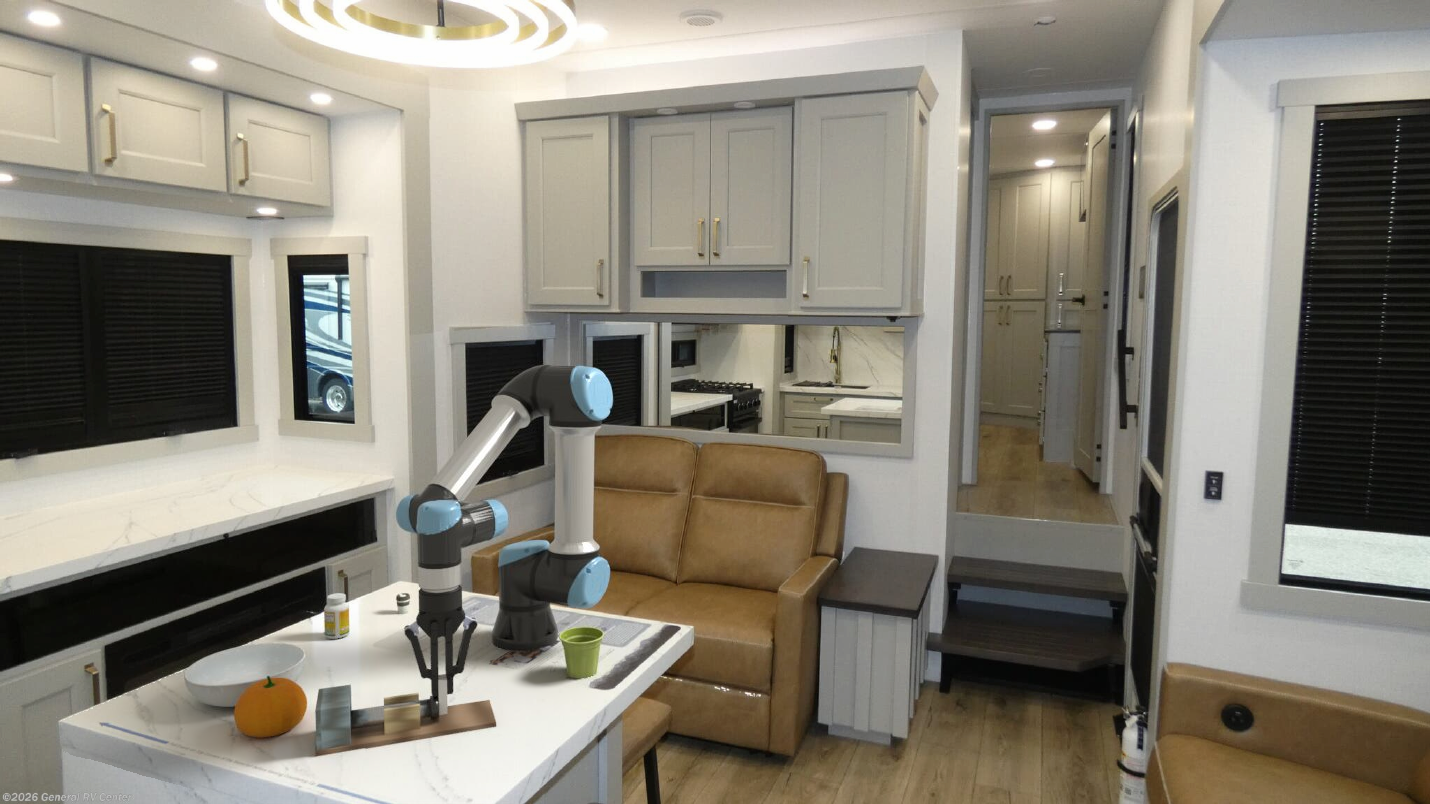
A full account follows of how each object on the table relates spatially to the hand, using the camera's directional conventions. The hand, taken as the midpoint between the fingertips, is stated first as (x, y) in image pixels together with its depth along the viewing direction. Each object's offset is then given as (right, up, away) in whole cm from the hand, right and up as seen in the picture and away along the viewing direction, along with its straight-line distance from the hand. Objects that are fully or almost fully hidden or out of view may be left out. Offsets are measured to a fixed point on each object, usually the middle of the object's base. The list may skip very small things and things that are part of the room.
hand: (442, 711), depth 155 cm
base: (-6, -3, -2) cm, 6 cm away
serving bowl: (-42, -1, +11) cm, 44 cm away
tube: (-9, -1, -4) cm, 10 cm away
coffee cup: (-30, +3, +60) cm, 67 cm away
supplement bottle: (-39, +2, +44) cm, 59 cm away
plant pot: (+22, -1, +23) cm, 32 cm away
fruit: (-30, -3, -2) cm, 30 cm away
